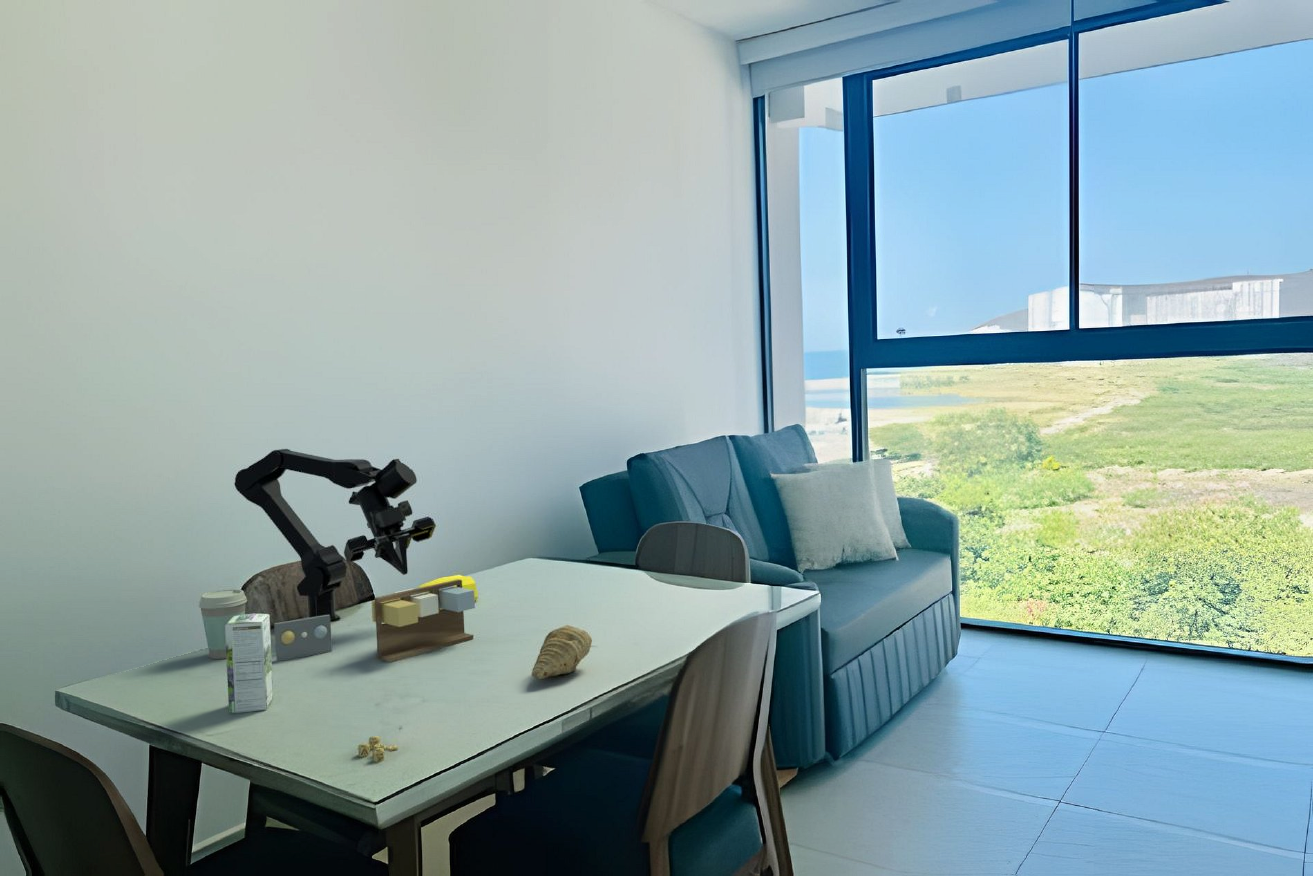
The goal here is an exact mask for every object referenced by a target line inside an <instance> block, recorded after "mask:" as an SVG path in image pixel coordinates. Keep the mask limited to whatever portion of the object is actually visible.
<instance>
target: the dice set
mask: <svg viewBox="0 0 1313 876" xmlns="http://www.w3.org/2000/svg"><path fill="white" fill-rule="evenodd" d="M357 747H358V748H357V749H358V756H359V757H360V758H361V757H362V758H365V757H368V756H369V755H371V751H370V750H372V760H373V762H376V763H379V762H383V761H385V759H386V757H385V751H387V750H388V749H389V751H390V752H393V751H394V752H395V751H398V746H397V744H394V745H390V746H389V747H388V746H386V745H385V744H383V743H381V737H380V736H379V735H374V736H370V737H369V738H368V742H367V743H361V744H359V745H358V746H357Z"/></svg>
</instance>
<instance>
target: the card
mask: <svg viewBox="0 0 1313 876" xmlns="http://www.w3.org/2000/svg"><path fill="white" fill-rule="evenodd" d="M273 626H274V628H273V629H274V640H275V641H274V642H275V656H276V657H275V658H276V661H277V662H280V660H282V661H287V660H291V659H292V660H293V659H297V658H298V659H299V658H302V657H307V656H308V657H309V656H312V655H313V656H314V655H318V654H319V655H320V654H325V653H329V651H331V652H333V646H332V645H333V644H332V628H331V621H330V615H323V616H316V617H310V618H298V619H293V620H288V621H282V622H281V621H279V622H274V624H273Z"/></svg>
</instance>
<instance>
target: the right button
mask: <svg viewBox="0 0 1313 876" xmlns="http://www.w3.org/2000/svg"><path fill="white" fill-rule="evenodd" d="M439 597H440V608H442V609H446V610H451V611H455V612H461V611H463V612H465V611H469V610H472V609H475V608H476V604H475V602H476V600H474V590H470V589H465V588H460V587H455V586H451V587H447V588H442V589H439Z"/></svg>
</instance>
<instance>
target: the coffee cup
mask: <svg viewBox="0 0 1313 876" xmlns="http://www.w3.org/2000/svg"><path fill="white" fill-rule="evenodd" d="M247 602H248V599H247V596H246V594H245V592H244V590H242V589H237V588H231V589H230V588H229V589H220V590H214V591H209V592H206V593H203V594H202V595H201V597H200V600H199V602H198V604H199V605H198V607H199V608H200V611H201V616H202V622H203V628H204V632H205V636H206V643H207V649H208V653H209V657H210V658H211V659H213V660H224V658H225V659H227V657H226V635H225V625H226V624H227V623H228V622H229V621H230V620H231V619H232V618H233V617H234V616H238V615H245V614H246V604H247Z"/></svg>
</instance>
